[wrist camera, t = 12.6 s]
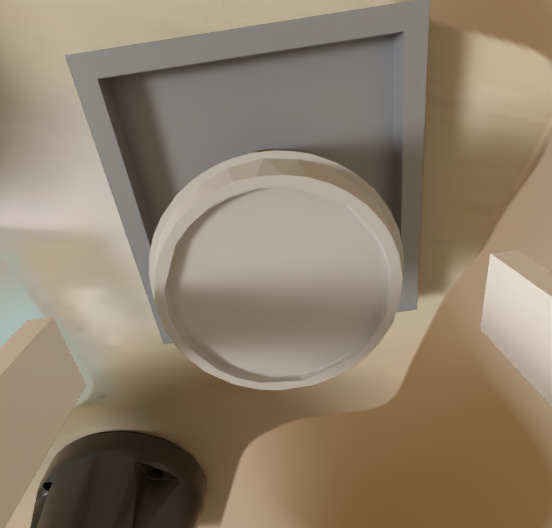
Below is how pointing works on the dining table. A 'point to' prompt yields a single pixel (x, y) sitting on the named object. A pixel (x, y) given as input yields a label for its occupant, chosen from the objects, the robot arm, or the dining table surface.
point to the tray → (264, 112)
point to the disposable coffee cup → (276, 270)
